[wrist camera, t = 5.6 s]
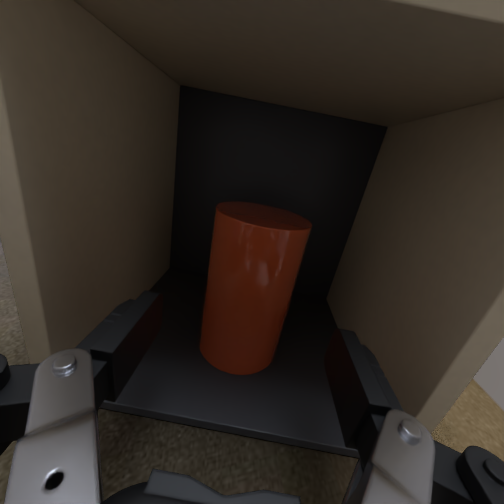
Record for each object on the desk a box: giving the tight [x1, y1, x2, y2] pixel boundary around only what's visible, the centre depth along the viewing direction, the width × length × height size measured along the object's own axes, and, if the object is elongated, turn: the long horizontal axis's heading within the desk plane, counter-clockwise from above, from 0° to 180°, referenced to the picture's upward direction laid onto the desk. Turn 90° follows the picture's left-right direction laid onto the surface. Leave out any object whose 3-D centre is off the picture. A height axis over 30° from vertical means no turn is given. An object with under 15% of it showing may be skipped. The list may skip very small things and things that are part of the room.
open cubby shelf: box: [0, 0, 504, 458], centre depth 16 cm, size 20×16×19 cm
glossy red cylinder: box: [199, 201, 312, 375], centre depth 16 cm, size 6×6×10 cm
